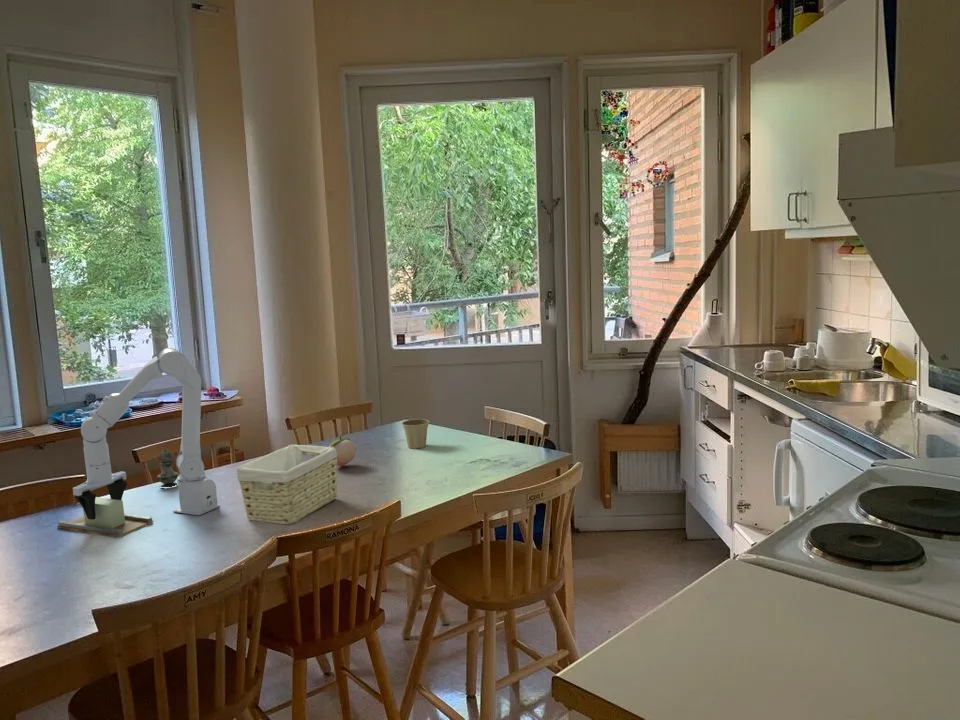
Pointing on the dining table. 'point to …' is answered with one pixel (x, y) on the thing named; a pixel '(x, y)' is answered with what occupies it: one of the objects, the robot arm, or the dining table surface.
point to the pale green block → (107, 513)
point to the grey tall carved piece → (167, 470)
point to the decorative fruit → (344, 450)
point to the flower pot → (416, 432)
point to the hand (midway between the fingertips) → (104, 513)
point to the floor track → (130, 525)
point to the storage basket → (288, 483)
